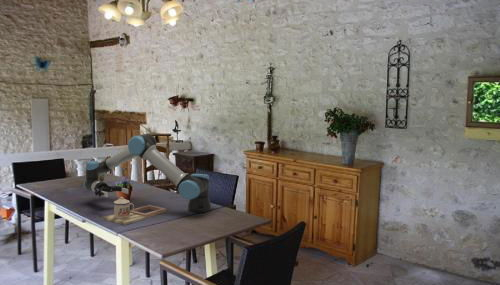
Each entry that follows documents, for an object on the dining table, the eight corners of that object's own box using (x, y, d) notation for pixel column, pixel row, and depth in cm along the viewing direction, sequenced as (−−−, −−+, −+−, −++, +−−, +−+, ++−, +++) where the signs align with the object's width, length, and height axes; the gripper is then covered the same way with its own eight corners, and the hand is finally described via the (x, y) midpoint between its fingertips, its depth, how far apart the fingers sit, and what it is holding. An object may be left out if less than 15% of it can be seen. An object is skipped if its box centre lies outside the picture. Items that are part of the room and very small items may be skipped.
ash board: (145, 219, 243) (145, 216, 243) (124, 225, 231) (124, 222, 231) (124, 213, 253) (124, 211, 253) (103, 219, 241) (103, 216, 240)
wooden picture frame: (166, 211, 260) (166, 208, 260) (144, 218, 245) (144, 214, 245) (149, 207, 268) (149, 204, 268) (127, 213, 253) (127, 210, 253)
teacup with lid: (117, 220, 234) (117, 199, 233) (110, 216, 241) (110, 196, 240) (137, 216, 243) (137, 197, 241) (130, 213, 249) (130, 194, 248)
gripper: (117, 190, 274) (136, 196, 259) (81, 196, 255) (98, 202, 241) (117, 179, 273) (135, 184, 259) (80, 184, 254) (98, 190, 240)
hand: (117, 193), depth 250 cm, fingers open, 13 cm apart
